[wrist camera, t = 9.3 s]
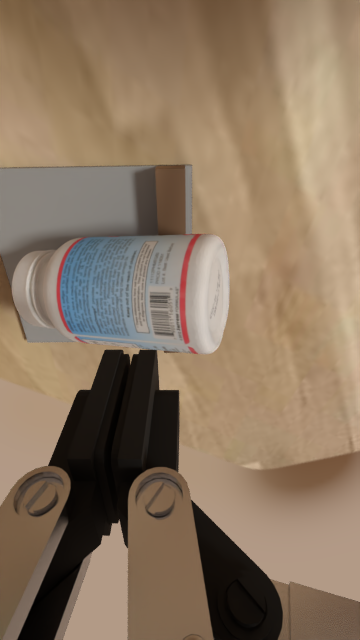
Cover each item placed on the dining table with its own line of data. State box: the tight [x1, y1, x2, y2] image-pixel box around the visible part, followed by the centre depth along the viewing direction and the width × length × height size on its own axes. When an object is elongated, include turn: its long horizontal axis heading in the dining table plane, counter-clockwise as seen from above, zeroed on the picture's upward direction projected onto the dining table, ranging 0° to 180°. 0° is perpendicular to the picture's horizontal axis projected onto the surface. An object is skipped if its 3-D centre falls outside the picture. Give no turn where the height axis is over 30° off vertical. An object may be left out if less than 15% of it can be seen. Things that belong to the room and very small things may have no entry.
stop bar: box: [155, 165, 186, 353], centre depth 21 cm, size 2×12×2 cm, turn 1°
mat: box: [0, 165, 192, 342], centre depth 22 cm, size 12×12×1 cm
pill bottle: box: [12, 234, 229, 354], centre depth 18 cm, size 6×6×11 cm
